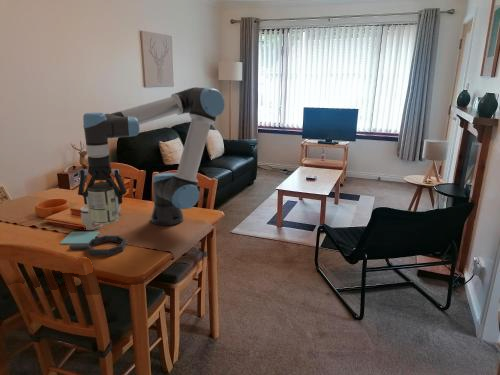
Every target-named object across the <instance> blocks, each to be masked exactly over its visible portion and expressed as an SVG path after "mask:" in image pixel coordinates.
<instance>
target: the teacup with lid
mask: <svg viewBox="0 0 500 375" xmlns="http://www.w3.org/2000/svg"><path fill="white" fill-rule="evenodd" d="M79 212H80V221H81V225H82V224H84V225H85V226H86V230H85V231H93V230H94V231H95V230H98V229H101V228H102V227H103V226H104V224H103V225H98V224H93V223H92V220H91V213H88V208H87V204H85V205H84V206H82V207H80V209H79Z"/></svg>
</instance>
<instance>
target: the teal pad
mask: <svg viewBox="0 0 500 375" xmlns="http://www.w3.org/2000/svg"><path fill="white" fill-rule="evenodd" d="M100 233H101V231H71V232H69V234H68V235H66V237H65V238H63V239H62V240H61V242H59V245H71V244H88V243H89V242H90V241H91V240H92V239H95V237H96V236H97V237H98V236H99V235H100ZM97 237H96V238H97Z"/></svg>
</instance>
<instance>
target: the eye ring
mask: <svg viewBox="0 0 500 375" xmlns="http://www.w3.org/2000/svg"><path fill="white" fill-rule="evenodd" d="M117 241H118V242H117ZM103 243H119V245H116V246H113V247H111V248H101V249H100V248H94V246H97V245H101V244H103ZM126 246H127V239H126V238H125V237H122V236H120V235H102V236H99V237H96V238H95V239H92V240H91V241H90V242H89V243H88V244H69V246H68V247H69V248H68V249H69V250H70V251H75V250H76V251H79V250H83V251H85V250H86V252H87V253H89V254H90V255H91V256H93V257H111V256H114V255H116V254H119V253H122V252H123V251H124V249H125V248H126Z"/></svg>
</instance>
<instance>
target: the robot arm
mask: <svg viewBox="0 0 500 375" xmlns="http://www.w3.org/2000/svg"><path fill="white" fill-rule="evenodd" d="M225 106H226V105H225V98H224V97H223V94H222V93H221V92H220V91H219V90H218V89H217V88H212V87H197V86H196V87H189V88H186V89H184V90H182V91H178V92H175V93H173V94H171V95H170V97H165V98H163V99H159V100H155V101H152V102H148V103H145V104H141V105H137V106H134V107H130V108H127V109H124V110H120V111H119V110H118V111H116V112H112V113H104V112H86V113H84V114H83V117H82V118H83V119H82V121H83V125H82V126H83V130H84V139H85V147H86V155H87V164H88V169H86V168H82V169H81V170H80V172H79V175H80V180H79V185H78V191H77V195H78V196H82V197H83V202H84V205H87V208H88V213H91V212H90V204H89V196H88V189H87V187H86V183H87V182H86V181H87V177H88V176H87V175H90V178H89V181H88V184H87V186H89V187H91V186H92V185H93V184H94V183H96V181H105V182H108V184H109V185H110V186H114V192H115V193H116V195H117V196H116V197H115V200H116V210H117V213H120V212H121V208H122V207H121V205H122V203H123V196H124V195H126V194H127V188H126V186H125V184H124V181H123V179H122V177H121V174H120V172H121V170H120V169H119V168H116V169H114V168H112V167H111V162H110V161H111V159H110V155H109V154H110V150H109V139H115V138H117V139H119V138H130V137H136V136H138V135H139V133H140V125H143V124H144V125H145V124H147V123H151V122H153V121H156V120H159V119H163V118H166V117H169V116H173V115H175V114H177V115H184V114H189V117H190V118H191V121H190V125H189V128H188V131H187V135H186V138H185V142H184V146H183V148H182V149H183V150H182V153H181V156H180V161H179V164H178V167H177V171H176V172H163V173H158V174H154V175H153V178H152V187H153V204H154V205H153V209H152V212H151V215H150V216H151V217H150V220H151V223H152V224H154V225H157V226H174V225H177V224H179V223H182V222H183V221H184V213H183V211H182V210H189V209H191V208H192V207H194V206H195V205H197V203H198V201H199V199H200V191H199V189H198V184H199V180H198V179H197V174H198V171H199V167H200V165H201V160H202V157H203V153H204V149H205V146H206V142H207V139H208V136H209V135H208V134H209V132H210V129H211V125H213V124H214V123H215V122H216V119H217V117H218V116H220V115H221V114H222V113H223V112H224V110H225ZM111 174H112V175H113V176H114V178H115V181H116V184H115V181H114V180H113V178H112V176H111ZM115 185H116V186H115ZM85 187H86V188H85Z"/></svg>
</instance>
